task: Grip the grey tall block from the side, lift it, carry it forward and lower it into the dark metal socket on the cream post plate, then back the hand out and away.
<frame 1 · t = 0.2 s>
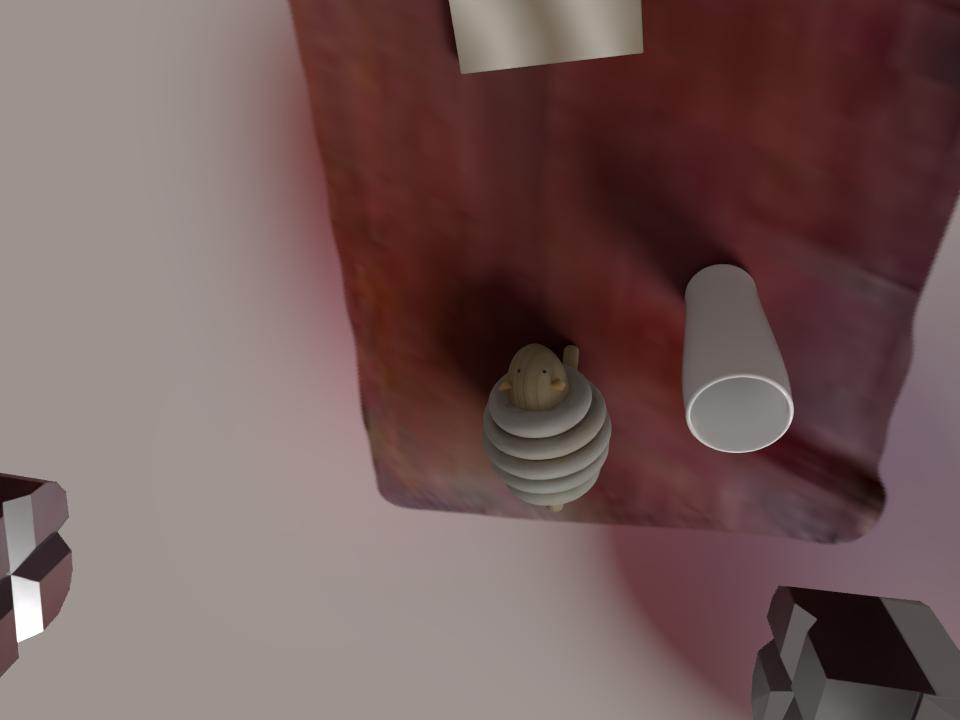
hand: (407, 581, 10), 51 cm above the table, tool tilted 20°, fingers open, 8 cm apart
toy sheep: (548, 388, 74), on the table
drinking glass: (719, 289, 65), on the table
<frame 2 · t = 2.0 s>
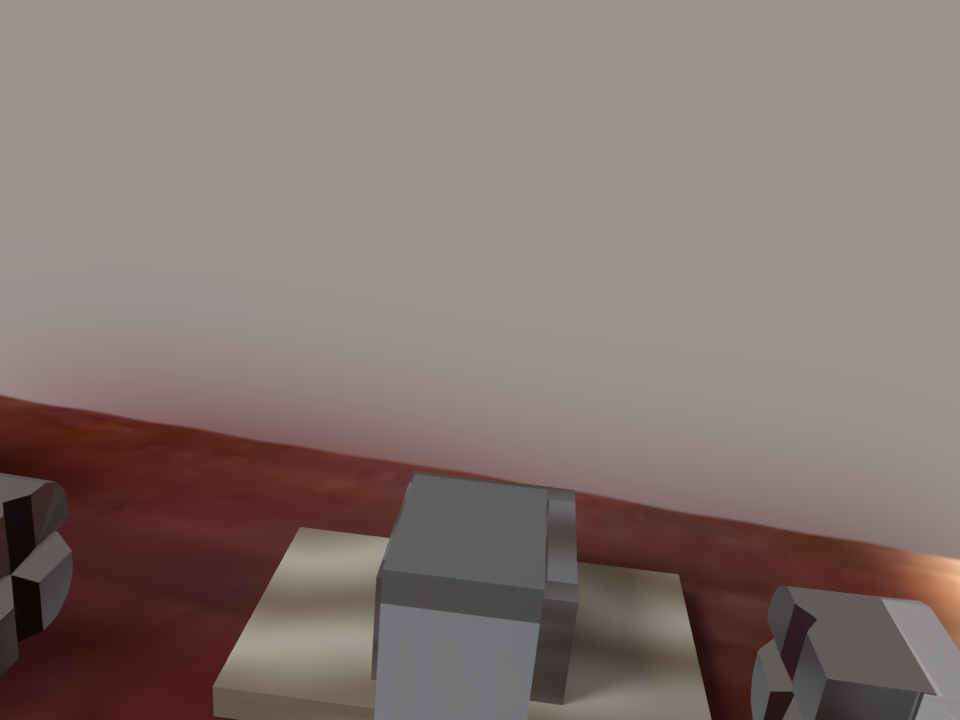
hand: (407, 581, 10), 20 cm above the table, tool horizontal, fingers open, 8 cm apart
post socket: (473, 649, 39), on the table
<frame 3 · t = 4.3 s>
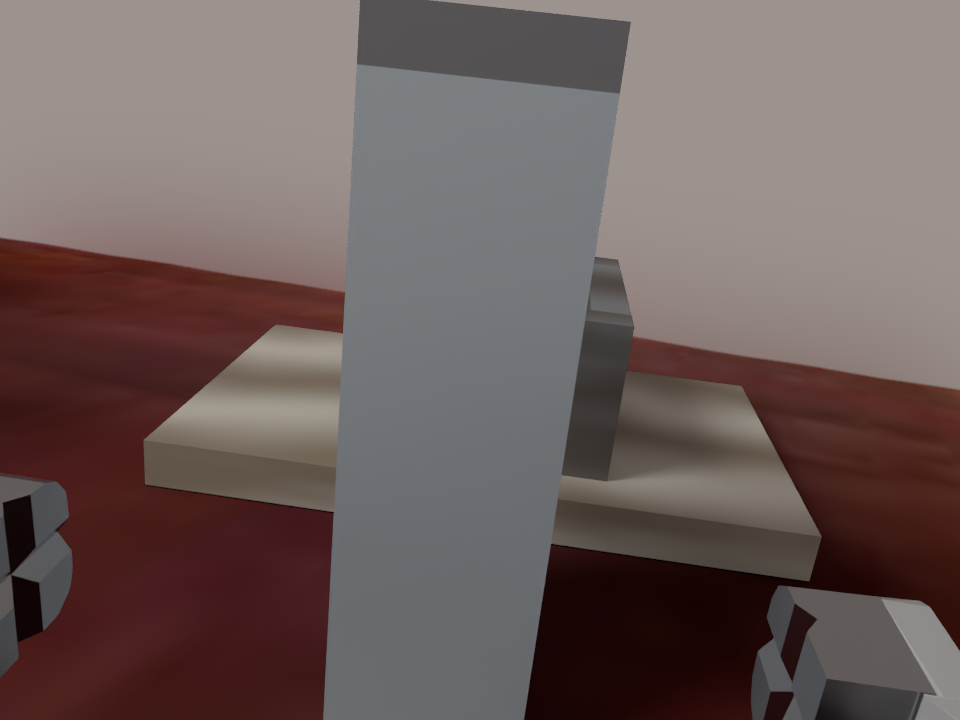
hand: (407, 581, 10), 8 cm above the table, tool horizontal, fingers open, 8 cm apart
post socket: (487, 446, 31), on the table
grey tall block: (437, 667, 19), on the table
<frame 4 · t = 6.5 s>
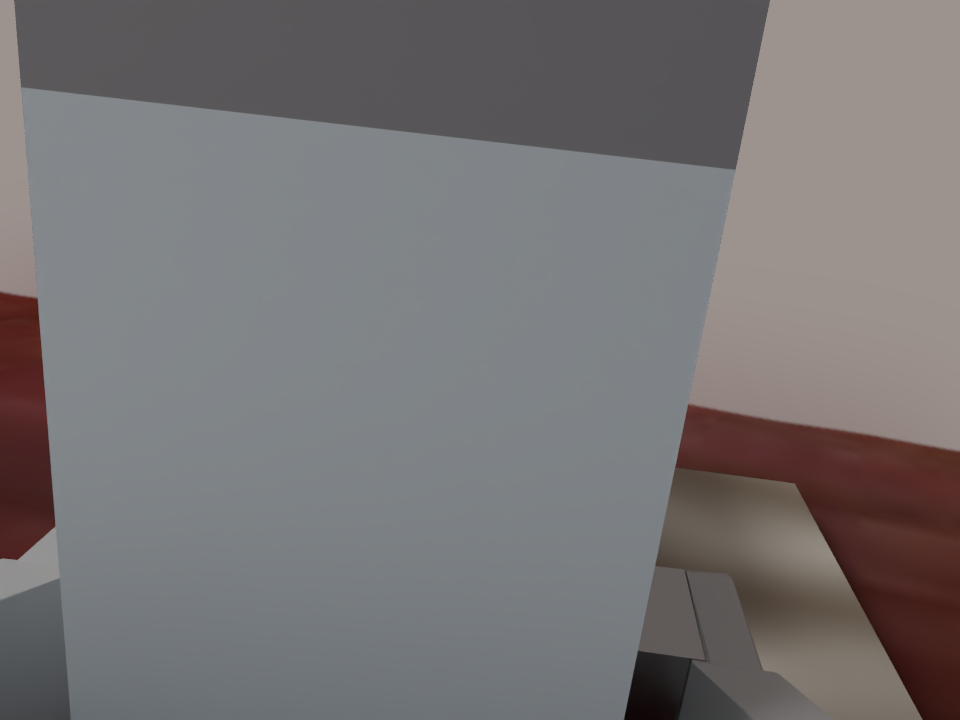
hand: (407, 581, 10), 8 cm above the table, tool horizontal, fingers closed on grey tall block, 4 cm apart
post socket: (462, 586, 23), on the table
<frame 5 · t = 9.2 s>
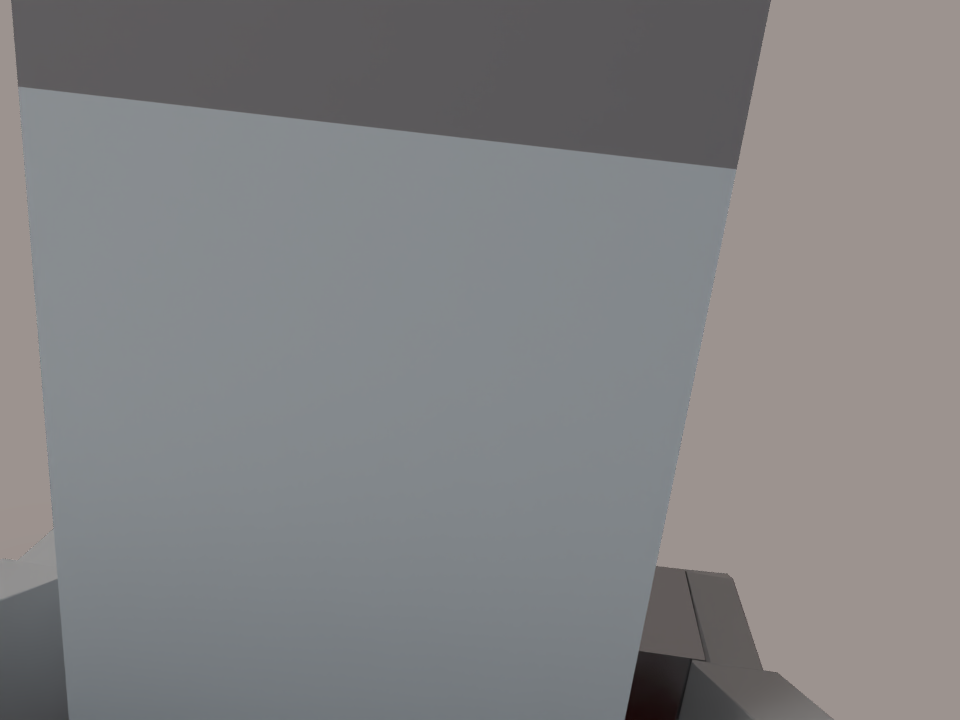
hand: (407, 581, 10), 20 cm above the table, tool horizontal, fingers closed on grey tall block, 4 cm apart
when the fingers open (11 cm above the table, at t = 12.0 s): grey tall block drops 1 cm, resting on post socket.
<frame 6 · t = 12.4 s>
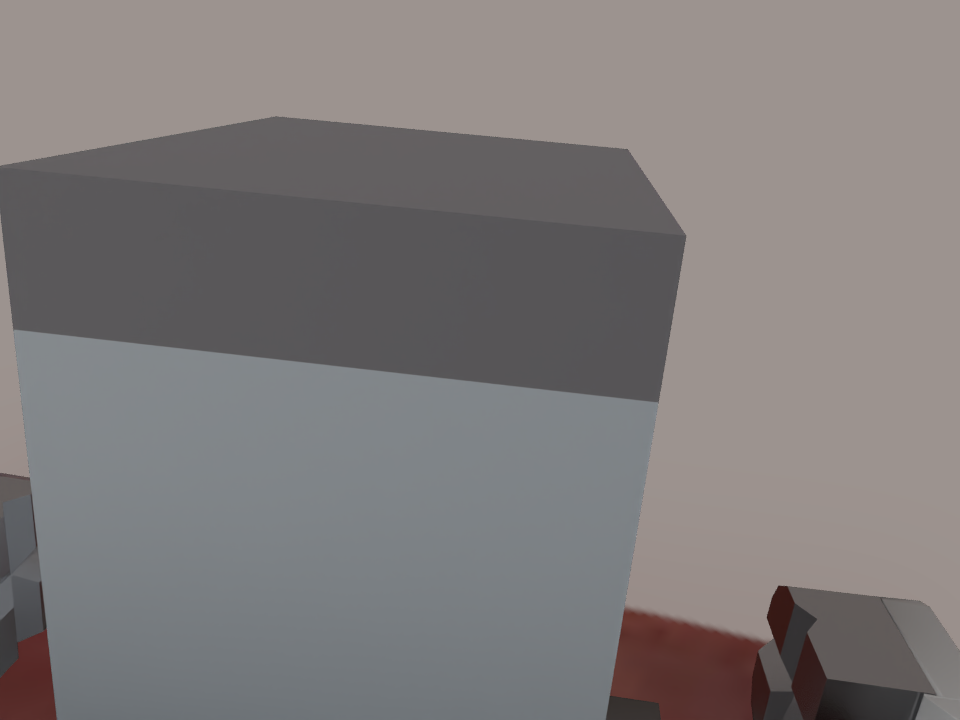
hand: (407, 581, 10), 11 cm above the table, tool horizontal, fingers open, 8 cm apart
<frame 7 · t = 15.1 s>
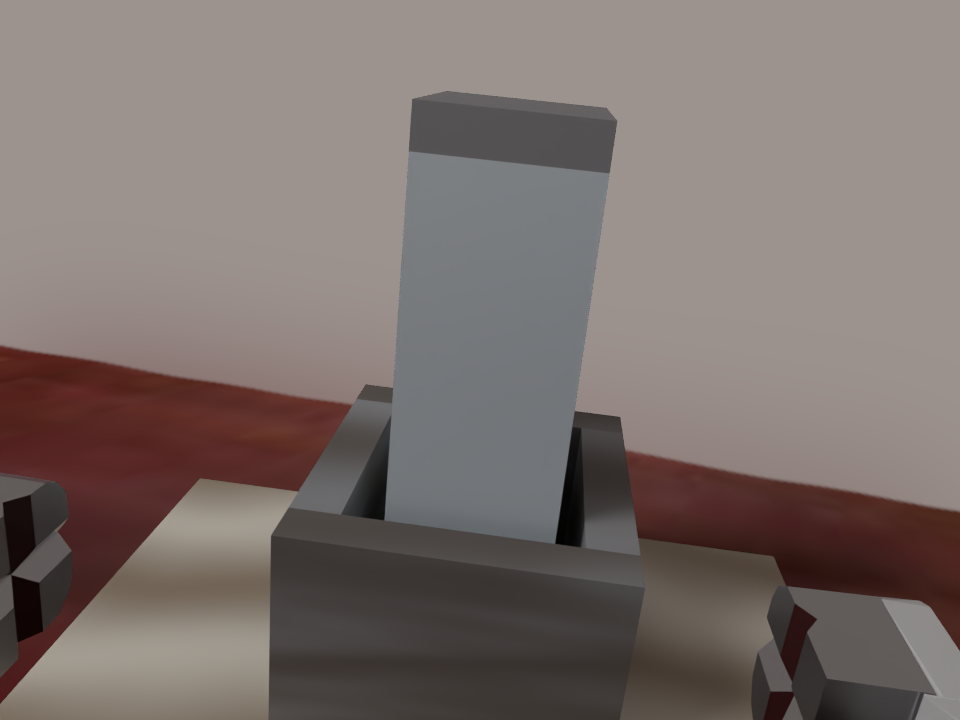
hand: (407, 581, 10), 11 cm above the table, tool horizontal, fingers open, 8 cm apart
post socket: (455, 669, 24), on the table
grey tall block: (464, 626, 23), point 1 cm above the table, touching post socket
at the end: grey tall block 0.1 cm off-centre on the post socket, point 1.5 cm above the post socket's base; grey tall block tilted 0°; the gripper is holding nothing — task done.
